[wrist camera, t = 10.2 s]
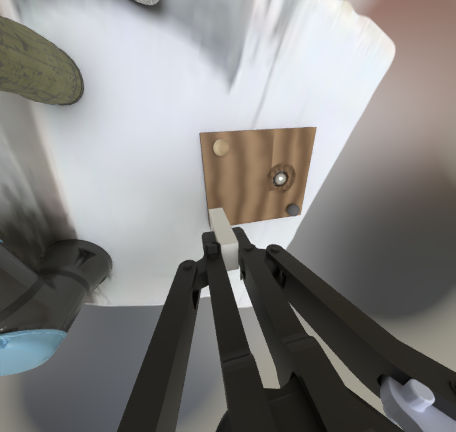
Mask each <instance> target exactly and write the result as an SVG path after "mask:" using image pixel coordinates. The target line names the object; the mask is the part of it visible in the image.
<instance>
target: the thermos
mask: <svg viewBox="0 0 456 432" xmlns="http://www.w3.org/2000/svg"><path fill="white" fill-rule="evenodd" d="M0 90H1V91H6V92H11V93H16V94H20V95H21V96H23V97H25V98H27V99H29V100H33V101H36V102H42V103H48V104H59V105H71V104H73V103H75V102H77V101H78V100H79V99H80V98H81V97H82V93H83V90H84V86H83V79H82V76H81V73H80V70H79V69H78V67H77V66H76V64H75V63H74V61H73V60H72V59H71V58H70V57H69V56H68V55H67V54H66V53H65V52H64V51H62V50H61V49H59V48H58V47H57V46H56V45H55V44H53V43H51V42H50V41H48V40H47V39H45V38H44V37H42V36H41V35H39V34H37V33H36V32H34V31H33V30H31V29H30V28H28V27H26V26H24V25H22V24H19V23H17V22H15V21H12V20H10V19H8V18H3V17H2V16H0Z"/></svg>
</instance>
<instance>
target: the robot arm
mask: <svg viewBox="0 0 456 432" xmlns="http://www.w3.org/2000/svg"><path fill="white" fill-rule="evenodd" d="M209 217H210V227H211V232H205V233H203V235H202V242H203V249H204V256H203V258H202V259H200V260H199V261H197V262H195V261H193V260H186V261H184V262H182V263H181V264H180V265H179V267H178V269H177V272H176V275H175V277H174V280H173V283H172V285H171V288H170V291H169V294H168V296H167V299H166V302H165V304H164V307H163V310H162V312H161V315H160V318H159V321H158V323H157V326H156V328H155V331H154V334H153V336H152V339H151V342H150V345H149V347H148V350H147V353H146V355H145V358H144V361H143V363H142V366H141V369H140V372H139V374H138V377H137V379H136V382H135V385H134V388H133V390H132V393H131V396H130V398H129V401H128V403H127V406H126V409H125V412H124V414H123V417H122V420H121V422H120V425H119V428H118V431H117V432H175V430H176V425H177V419H178V413H179V408H180V402H181V397H182V392H183V386H184V381H185V375H186V369H187V364H188V359H189V353H190V348H191V342H192V336H193V331H194V326H195V320H196V315H197V309H198V304H199V299H200V293H201V289H202V288H204V287H206V286H208V285H209V290H210V296H211V303H212V309H213V316H214V323H215V329H216V336H217V342H218V349H219V355H220V362H221V368H222V374H223V382H224V388H225V395H226V402H227V408H228V410H227V411H226V413H225V414H224V415H223V417H222V419H221V421H220V423H219V425H218V427H217V430H216V432H456V372H454V371H452V370H450V369H448V368H447V367H445V366H443V365H442V364H440V363H438V362H436V361H434V360H433V359H431V358H429V357H427V356H425V355H424V354H422V353H420V352H418V351H416V350H415V349H413V348H411V347H410V346H408V345H406V344H404V343H402V342H400V341H399V340H397V339H396V338H395V337H394V336H392V335H391V334H390V333H388V332H387V331H386V330H385V329H384V328H382V327H381V326H380V325H379V324H377V323H376V322H375V321H374V320H372V319H371V318H370V317H368V316H367V315H366V314H365V313H363V312H362V311H361V310H360V309H359V308H357V307H356V306H355V305H353V304H352V303H351V302H350V301H348V300H347V299H346V298H345V297H343V296H342V295H341V294H340V293H338V292H337V291H336V290H335V289H333V288H332V287H331V286H330V285H328V284H327V283H326V282H325V281H323V280H322V279H321V278H320V277H318V276H317V275H316V274H315V273H313V272H312V271H311V270H310V269H308V268H307V267H306V266H305V265H303V264H302V263H301V262H299V261H298V260H297V259H296V258H295V257H293V256H292V255H291V254H290V253H288V252H287V251H286V250H285V249H283V248H282V247H281V246H279V245H275V244H272V245H269V246H267V248H266V249H258V248H256V247H255V245H253V244H251V243H250V241H249V239H248V238H247V236H246V234H245V232H244V231H243V229H242V228H240V227H235V228H231V226H230V223H229V221H228V219H227V217H226V215H225V213H224V210H223V208H215V209H209ZM2 242H3V241H2V240H0V376H4V375H10V374H16V373H20V372H24V371H27V370H30V369H32V368H35V367H37V366H39V365H41V364H43V363H44V362H45V361H47V360H48V359H49V358H50V357H51V356H52V355H53V354H54V353H55V351H56V349H57V348H58V346H59V345H60V343H61V342H62V340H63V339H64V338H65V337H66V335H67V332H68V331H69V329H70V327H71V325H72V323H73V322H74V320H75V318H76V316H77V315H78V313H79V311H80V309H81V307H82V305H83V304H84V302H85V300H86V298H87V297H88V295H89V293H91V292H92V291H93V290H94V289H95V288H96V287H97V286H98V285H99V284H101V283H102V282H103V281H104V280H105V279H106V278H107V276H108V274H109V272H110V270H111V267H112V262H111V259H110V257H109V255H108V254H107V253H106V252H105V251H104V250H103V249H102V248H100V247H99V246H97V245H95V244H93V243H90V242H86V241H81V240H65V241H60V242H57V243H55V244H53V245H52V246H50V247H49V248H48V249H47V250H46V251H45V252H43V253H42V255H41V256H40V258H39V260H38V263H37V266H36V267H35V269H34V268H33V267H32V266H31V265H29V264H28V263H27V262H26V261H24V260H23V259H22V258H21V257H20V256H18V255H17V254H16V253H15V252H13V251H12V250H11V249H10V248H8V247H7V246H6V245H5V244H4V243H2ZM239 266H240V279H241V280H242V279H243V281H244V284H245V287H246V289H247V292H248V295H249V297H250V300H251V303H252V305H253V308H254V311H255V313H256V316H257V319H258V321H259V324H260V327H261V329H262V332H263V335H264V337H265V340H266V343H267V345H268V348H269V351H270V353H271V356H272V359H273V361H274V364H275V367H276V371H277V376H278V381H279V384H280V389H269V388H263V384H262V381H261V378H260V375H259V371H258V368H257V365H256V362H255V359H254V356H253V355H252V353H251V351H250V349H249V345H248V342H247V339H246V335H245V332H244V328H243V325H242V321H241V318H240V315H239V311H238V308H237V304H236V301H235V298H234V294H233V291H232V287H231V284H230V280H229V277H228V274H227V271H230V270H235V269H239ZM289 303H290V304H291V305H292V306H293V307H294V308H295V309H296V311H297V312H298V313H299V314H300V315H301V316H302V317H303V318H304V319H305V321H306V322H307V323H308V324H309V325H310V326H311V327H312V328H313V330H314V331H315V332H316V333H317V334H318V335H319V336H320V337H321V338H322V339H323V341H324V342H325V343H326V344H327V345H328V346H329V347H330V349H331V350H332V351H333V352H334V353H335V354H336V355H337V356H338V357H339V359H340V360H341V361H342V362H343V363H344V364H345V365H346V366H347V367H348V368H349V370H350V371H351V372H352V373H353V374H354V375H355V376H356V377H357V378H358V379H359V380H360V381H361V382H362V383H363V384H364V385H365V386H366V387H367V388H369V390H371V391H372V392H373V393H374V394H375V395H376V396H378V397H379V398H380V399H381V401H382V404H383V410H384V412H385V414H386V416H387V417H388V418H389V419H390V420H389V419H388V418H387V417H385V416H384V415H383V414H381V413H380V412H379V411H377V410H376V409H375V408H373V407H372V406H371V405H369V404H368V403H367V402H366V401H364V400H363V399H362V398H360V397H359V396H358V395H356V394H355V393H354V392H352V391H351V390H350V389H348V388H347V387H346V386H345V385H344V383H343V381H342V380H341V378H340V377H339V375H338V373H337V372H336V370H335V369H334V367H333V365H332V364H331V362H330V360H329V359H328V357H327V356H326V354H325V352H324V351H323V349H322V347H321V346H320V344H319V343H318V341H317V340H316V339H315V338H314V337H313V336H309V335H308V334H307V333H306V331H305V330H304V328H303V326H302V325H301V323H300V321H299V320H298V318H297V316H296V314H295V313H294V311H293V309H292V308H291V306H290V304H289ZM394 423H395V424H394ZM396 424H397V425H399V426H400V427H401V428H402V429H403V430H402V429H401V428H400V427H398V426H397V425H396Z"/></svg>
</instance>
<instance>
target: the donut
mask: <svg viewBox="0 0 456 432" xmlns="http://www.w3.org/2000/svg"><path fill="white" fill-rule="evenodd" d="M135 1H137V2H139V3H142V4H145V5H154V4H156V3H157V2H158V1H159V0H135Z"/></svg>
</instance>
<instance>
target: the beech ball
mask: <svg viewBox="0 0 456 432" xmlns="http://www.w3.org/2000/svg"><path fill="white" fill-rule="evenodd" d="M213 150H214V152H215V154H216V155H218V156H225V155H226V154H227V153H228V152H229V144H228V142H227V141H226V140H224V139H219V140H217V141H216V142H215V143H214V145H213Z"/></svg>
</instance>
